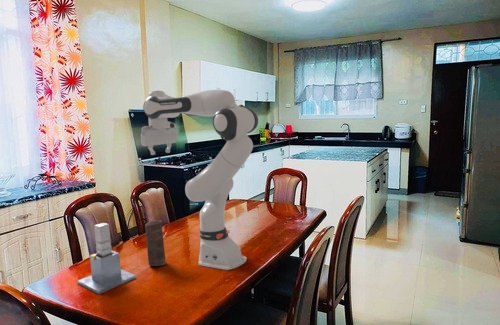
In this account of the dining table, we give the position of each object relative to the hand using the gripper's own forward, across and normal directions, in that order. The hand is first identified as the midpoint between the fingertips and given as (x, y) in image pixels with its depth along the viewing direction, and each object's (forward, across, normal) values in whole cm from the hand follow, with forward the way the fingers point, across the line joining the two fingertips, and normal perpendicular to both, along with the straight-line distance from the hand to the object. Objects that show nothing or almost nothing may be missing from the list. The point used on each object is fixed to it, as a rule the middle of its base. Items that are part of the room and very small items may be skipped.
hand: (160, 153), depth 171 cm
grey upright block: (+48, -18, -13) cm, 52 cm away
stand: (+47, -39, -6) cm, 62 cm away
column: (+46, -39, -6) cm, 60 cm away
